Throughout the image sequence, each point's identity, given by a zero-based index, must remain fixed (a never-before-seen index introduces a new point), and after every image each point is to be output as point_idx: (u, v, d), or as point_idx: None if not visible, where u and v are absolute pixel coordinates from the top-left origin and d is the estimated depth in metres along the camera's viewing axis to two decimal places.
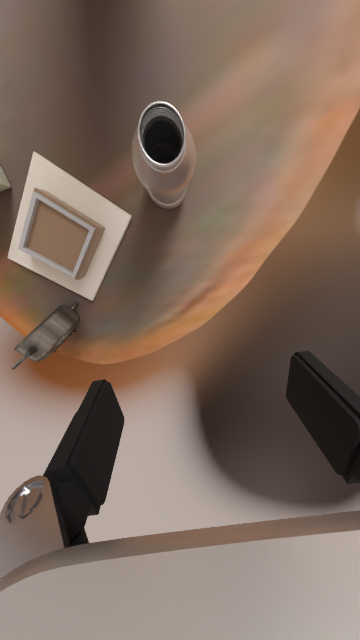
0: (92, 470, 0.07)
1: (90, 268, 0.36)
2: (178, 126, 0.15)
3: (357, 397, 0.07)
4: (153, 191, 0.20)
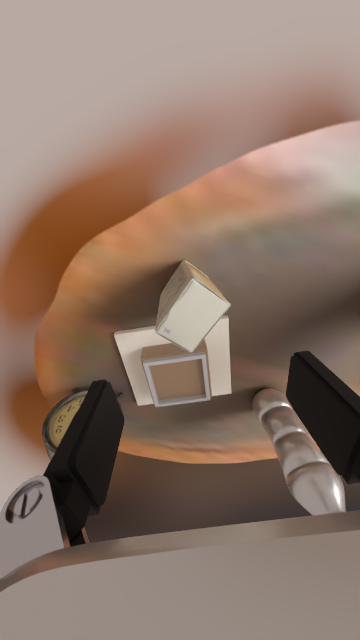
0: (92, 470, 0.07)
1: None
2: None
3: (357, 397, 0.07)
4: (292, 493, 0.25)
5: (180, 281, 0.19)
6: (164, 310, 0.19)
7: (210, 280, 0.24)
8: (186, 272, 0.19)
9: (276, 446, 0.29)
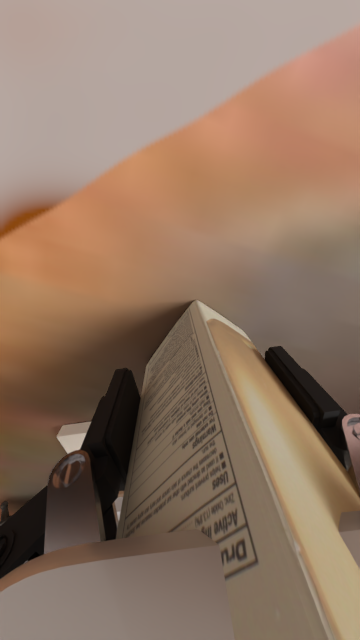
0: (122, 448, 0.08)
1: None
2: None
3: (316, 386, 0.07)
4: None
5: (200, 454, 0.05)
6: None
7: (263, 359, 0.10)
8: (225, 416, 0.05)
9: None
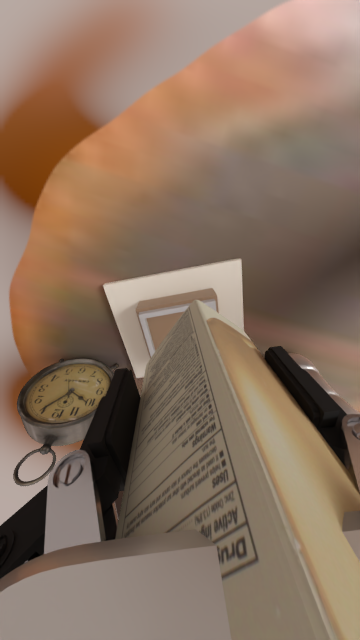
0: (122, 448, 0.08)
1: None
2: None
3: (316, 386, 0.07)
4: None
5: (200, 453, 0.05)
6: None
7: (263, 358, 0.10)
8: (225, 415, 0.05)
9: None
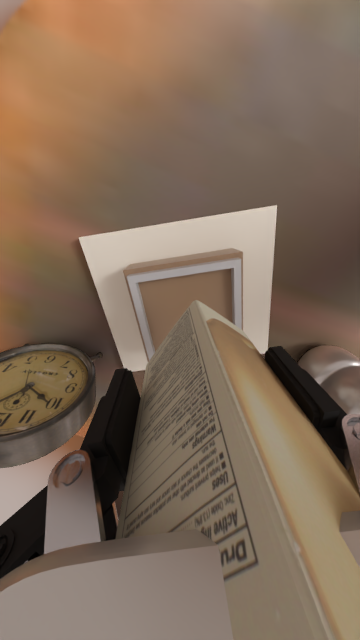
0: (122, 448, 0.08)
1: None
2: None
3: (316, 387, 0.07)
4: None
5: (200, 454, 0.05)
6: None
7: (263, 359, 0.10)
8: (225, 416, 0.05)
9: None
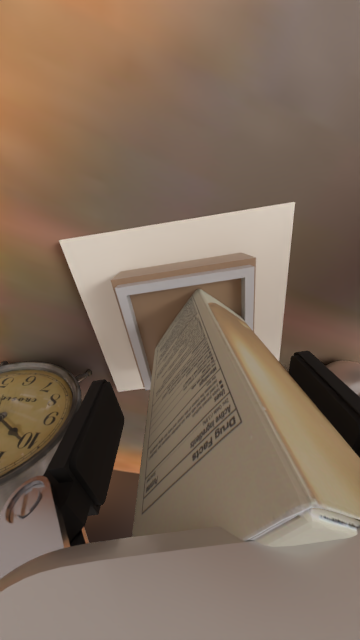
0: (92, 470, 0.07)
1: None
2: None
3: (357, 397, 0.07)
4: None
5: (205, 387, 0.06)
6: (158, 491, 0.06)
7: (256, 336, 0.12)
8: (223, 359, 0.06)
9: None
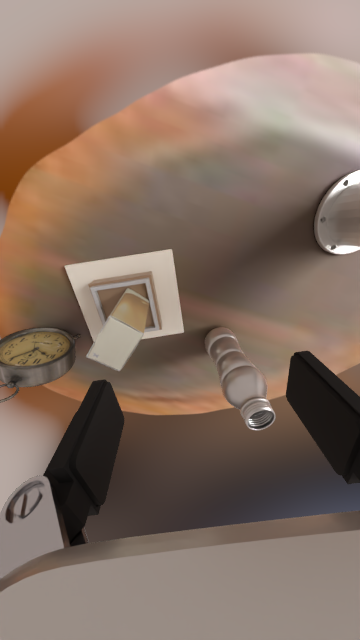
0: (92, 470, 0.07)
1: None
2: (267, 410, 0.25)
3: (357, 397, 0.07)
4: (224, 395, 0.28)
5: None
6: None
7: (147, 306, 0.29)
8: None
9: (217, 366, 0.32)
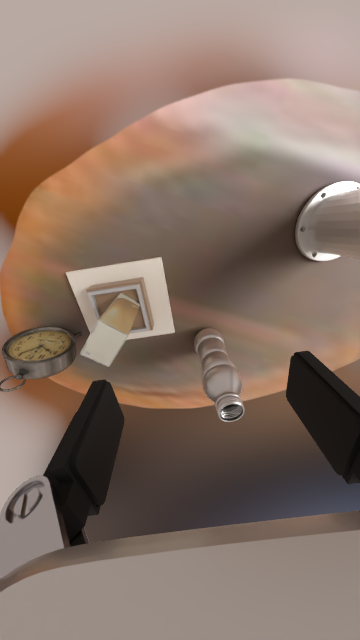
0: (92, 470, 0.07)
1: None
2: (239, 405, 0.28)
3: (357, 397, 0.07)
4: (204, 391, 0.31)
5: None
6: None
7: (137, 309, 0.33)
8: (106, 310, 0.27)
9: (201, 364, 0.35)
